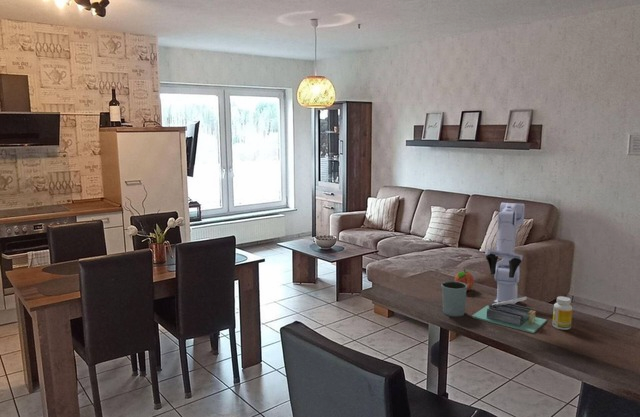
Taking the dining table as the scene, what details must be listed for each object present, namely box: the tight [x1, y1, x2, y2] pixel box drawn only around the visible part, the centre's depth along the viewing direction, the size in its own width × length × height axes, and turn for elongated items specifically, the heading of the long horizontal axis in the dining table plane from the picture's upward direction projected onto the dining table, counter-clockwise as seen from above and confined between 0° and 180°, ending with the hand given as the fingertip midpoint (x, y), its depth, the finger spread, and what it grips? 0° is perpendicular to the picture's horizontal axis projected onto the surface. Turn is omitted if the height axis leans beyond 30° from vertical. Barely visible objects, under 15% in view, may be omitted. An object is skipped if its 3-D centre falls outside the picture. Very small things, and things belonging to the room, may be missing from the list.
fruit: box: [454, 269, 475, 291], centre depth 226 cm, size 9×10×10 cm
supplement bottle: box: [551, 295, 573, 331], centre depth 183 cm, size 6×6×11 cm
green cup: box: [440, 280, 467, 317], centre depth 199 cm, size 10×10×12 cm
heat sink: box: [487, 301, 537, 327], centre depth 191 cm, size 12×17×5 cm
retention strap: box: [491, 296, 528, 307], centre depth 191 cm, size 14×2×1 cm, turn 48°
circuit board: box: [471, 305, 547, 334], centre depth 192 cm, size 15×24×1 cm, turn 48°
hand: (502, 276), depth 186 cm, fingers open, 7 cm apart
